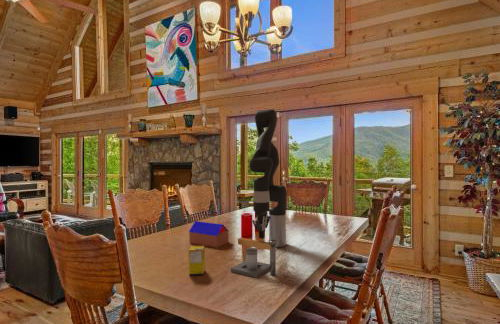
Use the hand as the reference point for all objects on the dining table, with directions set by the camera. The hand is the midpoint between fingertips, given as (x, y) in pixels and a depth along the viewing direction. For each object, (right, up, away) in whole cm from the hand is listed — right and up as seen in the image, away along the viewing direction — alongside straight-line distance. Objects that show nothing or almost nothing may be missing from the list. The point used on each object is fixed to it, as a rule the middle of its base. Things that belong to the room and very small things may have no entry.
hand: (261, 238), depth 143 cm
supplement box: (-28, -13, -10) cm, 32 cm away
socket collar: (-5, -12, -7) cm, 15 cm away
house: (-29, -12, +37) cm, 48 cm away
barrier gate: (-2, -12, -9) cm, 15 cm away
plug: (-5, -12, -7) cm, 15 cm away
